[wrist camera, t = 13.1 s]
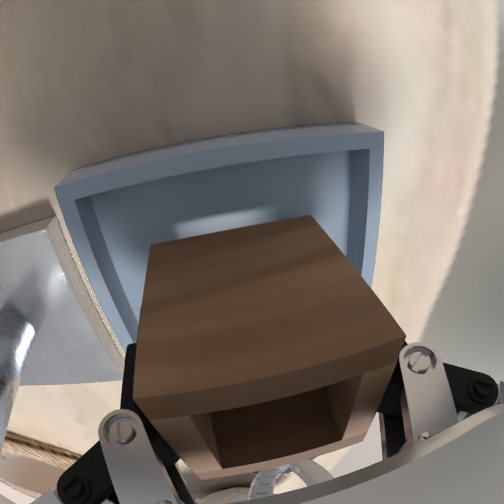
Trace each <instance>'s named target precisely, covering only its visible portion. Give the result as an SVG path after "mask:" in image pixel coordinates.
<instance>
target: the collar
mask: <svg viewBox="0 0 504 504" xmlns="http://www.w3.org/2000/svg"><path fill="white" fill-rule="evenodd" d="M405 338H406V335H405V333H404V332H403V330H402V329H401V328H400V326H399V325H398V324H397V322H396V321H395V320H394V318H393V317H392V315H391V314H390V313H389V311H388V310H387V309H386V307H385V306H384V305H383V303H382V302H381V301H380V300H379V298H378V297H377V296H376V294H375V293H374V292H373V290H372V289H371V288H370V287H369V285H368V284H367V283H366V281H365V280H364V279H363V278H362V276H361V275H360V274H359V272H358V271H357V270H356V269H355V267H354V266H353V265H352V264H351V262H350V261H349V260H348V259H347V257H346V256H345V255H344V254H343V253H342V251H341V250H340V249H339V248H338V246H337V245H336V244H335V243H334V242H333V240H332V239H331V238H330V237H329V236H328V234H327V233H326V232H325V231H324V230H323V228H322V227H321V226H320V225H319V224H318V222H317V221H316V220H315V219H314V218H313V217H312V215H307V216H301V217H295V218H290V219H284V220H278V221H273V222H267V223H262V224H256V225H251V226H245V227H240V228H234V229H229V230H224V231H218V232H213V233H208V234H203V235H198V236H192V237H187V238H182V239H177V240H172V241H167V242H162V243H157V244H152V245H151V246H150V252H149V258H148V264H147V270H146V277H145V283H144V290H143V297H142V305H141V313H140V321H139V330H138V339H137V349H136V360H135V372H134V386H133V400H134V401H135V402H136V404H137V405H138V406H139V408H140V409H141V410H142V412H143V413H144V414H145V416H146V417H147V418H148V420H149V421H150V422H151V423H152V425H153V426H154V427H155V429H156V430H157V431H158V432H159V433H160V435H161V436H162V437H163V438H164V440H165V441H166V442H167V443H168V444H169V445H170V447H171V448H172V449H173V450H174V451H175V452H176V454H177V455H178V456H179V457H180V458H181V459H182V460H183V461H184V463H185V464H186V465H187V466H188V467H189V468H190V469H191V470H192V471H193V472H194V473H195V474H196V475H197V476H198V478H199V479H200V480H205V479H213V478H220V477H227V476H234V475H240V474H245V473H251V472H256V471H261V470H266V469H270V468H275V467H279V466H283V465H287V464H291V463H295V462H299V461H303V460H306V459H310V458H313V457H317V456H320V455H323V454H326V453H330V452H333V451H336V450H339V449H342V448H345V447H348V446H350V445H353V444H356V443H359V442H361V441H363V439H364V438H365V436H366V433H367V431H368V429H369V427H370V425H371V423H372V421H373V419H374V417H375V414H376V412H377V410H378V408H379V405H380V403H381V401H382V398H383V396H384V394H385V391H386V389H387V386H388V384H389V381H390V379H391V376H392V374H393V371H394V369H395V366H396V363H397V361H398V358H399V355H400V352H401V349H402V346H403V344H404V341H405Z"/></svg>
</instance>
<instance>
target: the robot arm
mask: <svg viewBox="0 0 504 504" xmlns="http://www.w3.org/2000/svg"><path fill="white" fill-rule="evenodd" d="M140 313H141V309H140ZM139 321H140V317H139ZM138 330H139V325H138ZM137 339H138V334H137ZM136 349H137V343H132V344H128V345H127V349H126V356H125V364H124V373H123V383H122V394H121V406H120V409H119V410H115V411H112V412H111V413H109V414H107V415H106V416H105V417H104V418H103V420H102V421H101V423H100V425H99V429H98V434H99V439H100V440H99V441H98V442H97V443H96V444H95V445H94V446H93V447H92V448H90V449H89V450H88V451H87V452H86V453H85V454H84V455H83V456H82V457H81V458H79V459H78V460H77V461H76V462H75V463H74V464H73V465H72V466H71V467H69V468H68V469H67V470H66V471H65V472H64V473H63V474H62V475H61V477H60V478H59V480H58V483H57V488H56V489H55V490H52V489H50V490H48V491H47V492H46V493H44V494H43V495H42V496H40V497H39V498H38V499H36V500H35V501H33V502H32V503H31V504H198V503H197V501H196V499H195V497H194V495H193V493H192V492H191V490H190V488H189V486H188V484H187V482H186V480H185V478H184V476H183V474H182V472H181V470H180V468H179V466H178V464H177V461H178V460H179V459H180V457H179V456H178V455H177V454H176V452H175V451H174V450H173V449H172V448H171V447H170V445H169V444H168V443H167V442H166V441H165V440H164V438H163V437H162V436H161V435H160V433H159V432H158V431H157V430H156V429H155V427H154V426H153V425H152V423H151V422H150V421H149V420H148V418H147V417H146V416H145V414H144V413H143V412H142V410H141V409H140V408H139V406H138V405H137V404H136V402H135V401H134V400H133V386H134V372H135V360H136ZM377 412H379V421H380V432H381V442H382V456H383V460H382V461H380V462H378V463H375V464H373V465H371V466H368V467H365V468H363V469H360V470H357V471H354V472H352V473H349V474H346V475H343V476H340V477H337V478H334V479H331V480H328V481H325V482H322V483H318V484H315V485H312V486H308V487H304V488H301V489H297V490H293V491H289V492H285V493H281V494H276V495H272V496H267V497H262V498H257V499H251V500H246V501H240V502H233V503H226V504H504V382H502V381H500V382H499V383H498V384H496V382H495V381H494V379H492V378H491V377H490V376H489V375H486V374H484V373H480V372H476V371H472V370H469V369H465V368H461V367H457V366H454V365H450V364H447V363H443V362H442V360H441V357H440V355H439V353H438V351H437V350H436V349H435V348H433V347H432V346H430V345H428V344H425V343H421V342H415V343H411V344H407V343H406V342H405V341H404V344H403V346H402V349H401V352H400V355H399V358H398V361H397V363H396V366H395V369H394V371H393V374H392V376H391V379H390V381H389V384H388V386H387V389H386V391H385V394H384V396H383V398H382V401H381V403H380V405H379V408H378V410H377Z"/></svg>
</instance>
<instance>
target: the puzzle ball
mask: <svg viewBox="0 0 504 504" xmlns="http://www.w3.org/2000/svg"><path fill="white" fill-rule="evenodd" d="M249 489H250V488H245V487H233V488H229V489H225V490H220V491H217V492H213V493H211V494H209V495H208V496H206V497H204V498H202V499H200V500H199V501H197V503H198V504H226V503H233V502H240V501H246V500H247V499H248V493H249ZM273 495H276V494H274V493H273Z"/></svg>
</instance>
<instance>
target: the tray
mask: <svg viewBox="0 0 504 504" xmlns="http://www.w3.org/2000/svg"><path fill="white" fill-rule="evenodd" d="M383 156H384V132H383V131H380V130H378V129H375V128H372V127H369V126H366V125H363V124H360V123H338V124H322V125H309V126H297V127H287V128H277V129H269V130H260V131H253V132H245V133H238V134H231V135H225V136H219V137H213V138H207V139H201V140H196V141H190V142H185V143H180V144H175V145H170V146H165V147H161V148H156V149H152V150H147V151H143V152H139V153H134V154H130V155H126V156H122V157H119V158H115V159H111V160H107V161H104V162H100V163H96V164H93V165H89V166H86V167H83V168H79V169H76V170H73V171H72V172H71V173H70V174H68V175H67V176H66V177H65V178H64V179H63V180H62V181H61V182H59V183H58V184H57V185H56V186H55V187H54V189H55V193H56V196H57V199H58V202H59V205H60V208H61V211H62V214H63V217H64V219H65V222H66V225H67V228H68V230H69V233H70V236H71V238H72V241H73V243H74V246H75V249H76V251H77V253H78V256H79V258H80V261H81V263H82V266H83V268H84V270H85V273H86V275H87V277H88V279H89V282H90V284H91V286H92V288H93V290H94V293H95V295H96V297H97V299H98V301H99V303H100V305H101V307H102V309H103V311H104V313H105V315H106V317H107V319H108V321H109V323H110V325H111V327H112V329H113V331H114V333H115V335H116V337H117V338H118V340H119V342H120V344H121V346H122V348H123V349H124V351H125V353H126V349H127V345H128V344H132V343H137V334H138V325H139V317H140V309H141V305H142V297H143V290H144V283H145V277H146V270H147V264H148V258H149V252H150V246H151V245H152V244H157V243H162V242H167V241H172V240H177V239H182V238H187V237H192V236H198V235H203V234H208V233H213V232H218V231H224V230H229V229H234V228H240V227H245V226H251V225H256V224H262V223H267V222H273V221H278V220H284V219H290V218H295V217H301V216H307V215H312V217H313V218H314V219H315V220H316V221H317V222H318V224H319V225H320V226H321V227H322V228H323V230H324V231H325V232H326V233H327V234H328V236H329V237H330V238H331V239H332V240H333V242H334V243H335V244H336V245H337V246H338V248H339V249H340V250H341V251H342V253H343V254H344V255H345V256H346V257H347V259H348V260H349V261H350V262H351V264H352V265H353V266H354V267H355V269H356V270H357V271H358V272H359V274H360V275H361V276H362V278H363V279H364V280H365V281H366V283H367V284H368V285H369V287H370V288H371V286H372V280H373V273H374V265H375V258H376V249H377V241H378V231H379V221H380V209H381V196H382V180H383Z"/></svg>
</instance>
